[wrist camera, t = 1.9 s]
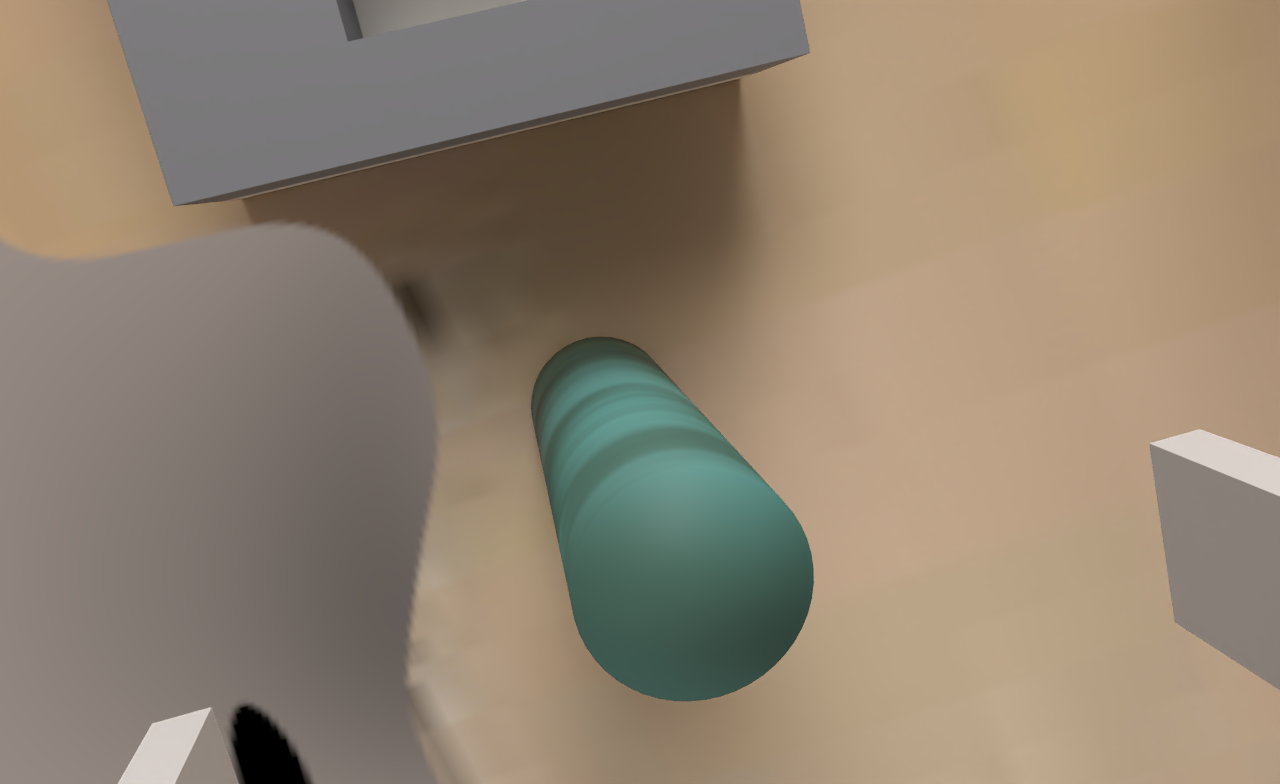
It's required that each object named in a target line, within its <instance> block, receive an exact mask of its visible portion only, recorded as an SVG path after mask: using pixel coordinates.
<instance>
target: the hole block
mask: <svg viewBox="0 0 1280 784" xmlns="http://www.w3.org/2000/svg"><path fill="white" fill-rule="evenodd" d="M107 2H108V5H109V8H110V11H111V14H112V17H113V20H114V23H115V26H116V30H117V33H118V36H119V39H120V42H121V45H122V48H123V51H124V54H125V58H126V61H127V64H128V67H129V70H130V73H131V76H132V79H133V82H134V85H135V89H136V92H137V95H138V98H139V101H140V104H141V107H142V110H143V113H144V116H145V120H146V123H147V126H148V129H149V132H150V135H151V138H152V141H153V144H154V147H155V151H156V154H157V157H158V160H159V163H160V166H161V169H162V172H163V175H164V178H165V182H166V185H167V188H168V191H169V194H170V197H171V200H172V203H173V206H179V205H189V204H199V203H208V202H218V201H228V200H237V199H244V198H248V197H252V196H256V195H260V194H264V193H269V192H273V191H277V190H281V189H285V188H289V187H293V186H298V185H302V184H306V183H310V182H314V181H318V180H322V179H327V178H331V177H335V176H339V175H343V174H347V173H351V172H356V171H360V170H364V169H368V168H372V167H376V166H380V165H385V164H389V163H393V162H397V161H401V160H405V159H409V158H414V157H418V156H422V155H426V154H430V153H434V152H438V151H443V150H447V149H451V148H455V147H459V146H463V145H467V144H472V143H476V142H480V141H484V140H488V139H492V138H496V137H501V136H505V135H509V134H513V133H517V132H521V131H525V130H530V129H534V128H538V127H542V126H546V125H550V124H554V123H559V122H563V121H567V120H571V119H575V118H579V117H583V116H588V115H592V114H596V113H600V112H604V111H608V110H612V109H616V108H621V107H625V106H629V105H633V104H637V103H641V102H645V101H650V100H654V99H658V98H662V97H666V96H670V95H674V94H679V93H683V92H687V91H691V90H695V89H699V88H703V87H708V86H712V85H716V84H720V83H724V82H728V81H732V80H737V79H741V78H743V77H746V76H749V75H751V74H754V73H757V72H760V71H762V70H765V69H768V68H770V67H773V66H776V65H779V64H781V63H784V62H787V61H789V60H792V59H795V58H797V57H800V56H803V55H806V54H808V53H810V50H809V45H808V40H807V35H806V30H805V25H804V20H803V15H802V10H801V5H800V0H107Z"/></svg>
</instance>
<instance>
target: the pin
mask: <svg viewBox="0 0 1280 784" xmlns="http://www.w3.org/2000/svg"><path fill="white" fill-rule="evenodd" d="M531 410H532V418H533V423H534V428H535V433H536V438H537V443H538V447H539V452H540V457H541V462H542V466H543V471H544V476H545V481H546V485H547V490H548V495H549V500H550V505H551V509H552V514H553V519H554V524H555V528H556V533H557V538H558V543H559V547H560V552H561V557H562V562H563V567H564V571H565V576H566V581H567V586H568V590H569V595H570V600H571V605H572V610H573V614H574V619H575V622H576V625H577V628H578V631H579V634H580V636H581V638H582V640H583V642H584V644H585V645H586V647H587V649H588V650H589V652H590V653H591V655H592V656H593V657H594V659H595V660H596V661H597V662H598V663H599V664H600V665H601V667H602V668H603V669H604V670H605V671H606V672H608V673H609V674H610V675H611V676H613V677H614V678H615V679H616V680H618V681H619V682H621V683H623V684H624V685H626V686H627V687H629V688H631V689H633V690H636V691H638V692H640V693H642V694H645V695H649V696H652V697H655V698H659V699H665V700H672V701H697V700H706V699H711V698H715V697H720V696H723V695H726V694H729V693H731V692H734V691H737V690H739V689H741V688H743V687H745V686H747V685H749V684H750V683H752V682H753V681H755V680H757V679H758V678H760V677H761V676H763V675H764V674H765V673H766V672H767V671H769V670H770V669H771V668H772V667H773V666H775V665H776V663H777V662H778V661H779V660H780V659H781V658H782V657H783V656H784V655H785V654H786V652H787V651H788V650H789V648H790V647H791V646H792V644H793V643H794V641H795V640H796V638H797V636H798V634H799V632H800V631H801V629H802V627H803V624H804V622H805V619H806V617H807V614H808V611H809V607H810V603H811V599H812V592H813V584H814V580H813V562H812V555H811V551H810V548H809V544H808V541H807V538H806V536H805V533H804V531H803V529H802V527H801V525H800V523H799V521H798V520H797V518H796V517H795V515H794V514H793V512H792V511H791V510H790V509H789V507H788V506H787V505H786V504H785V503H784V501H783V500H782V499H781V498H780V497H779V496H778V495H777V494H776V493H775V492H774V491H773V489H772V488H771V487H770V486H769V485H768V484H767V483H766V482H765V481H764V480H763V479H762V478H761V476H760V475H759V474H758V473H757V472H756V471H755V470H754V469H753V468H752V467H751V466H750V465H749V463H748V462H747V461H746V460H745V459H744V458H743V457H742V456H741V455H740V454H739V453H738V452H737V450H736V449H735V448H734V447H733V446H732V445H731V444H730V443H729V442H728V441H727V440H726V439H725V437H724V436H723V435H722V434H721V433H720V432H719V431H718V430H717V429H716V428H715V427H714V426H713V424H712V423H711V422H710V421H709V420H708V419H707V418H706V417H705V416H704V415H703V414H702V413H701V411H700V410H699V409H698V408H697V407H696V406H695V405H694V404H693V403H692V402H691V401H690V400H689V398H688V397H687V396H686V395H685V394H684V393H683V392H682V391H681V390H680V389H679V388H678V387H677V385H676V384H675V383H674V382H673V381H672V380H671V379H670V378H669V377H668V376H667V375H666V374H665V372H664V371H663V370H662V369H661V368H660V367H659V366H658V365H657V364H656V363H655V362H654V361H653V359H652V358H651V357H650V356H648V355H647V354H646V353H645V352H644V351H643V350H641V349H640V348H638V347H637V346H635V345H633V344H631V343H629V342H626V341H624V340H621V339H616V338H611V337H592V338H587V339H582V340H579V341H576V342H574V343H572V344H570V345H568V346H566V347H564V348H563V349H561V350H560V351H558V352H557V353H556V354H555V355H554V356H553V357H552V358H551V359H550V360H549V361H548V362H547V363H546V365H545V366H544V367H543V369H542V370H541V372H540V374H539V376H538V378H537V380H536V383H535V386H534V389H533V394H532V402H531Z"/></svg>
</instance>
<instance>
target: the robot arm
mask: <svg viewBox="0 0 1280 784" xmlns="http://www.w3.org/2000/svg"><path fill="white" fill-rule="evenodd" d="M1149 444H1150V451H1151V458H1152V465H1153V472H1154V479H1155V486H1156V493H1157V500H1158V507H1159V514H1160V521H1161V528H1162V535H1163V542H1164V549H1165V557H1166V564H1167V571H1168V578H1169V585H1170V592H1171V599H1172V606H1173V613H1174V620H1175V623H1177V624H1179V625H1180V626H1182V627H1183V628H1185V629H1186V630H1188V631H1189V632H1191V633H1192V634H1194V635H1196V636H1197V637H1199V638H1200V639H1202V640H1203V641H1205V642H1206V643H1208V644H1210V645H1211V646H1213V647H1214V648H1216V649H1217V650H1219V651H1220V652H1222V653H1223V654H1225V655H1227V656H1228V657H1230V658H1231V659H1233V660H1234V661H1236V662H1237V663H1239V664H1241V665H1242V666H1244V667H1245V668H1247V669H1248V670H1250V671H1251V672H1253V673H1254V674H1256V675H1258V676H1259V677H1261V678H1262V679H1264V680H1265V681H1267V682H1268V683H1270V684H1272V685H1273V686H1275V687H1276V688H1278V689H1279V690H1280V458H1279V457H1276V456H1273V455H1270V454H1267V453H1265V452H1262V451H1259V450H1256V449H1254V448H1251V447H1248V446H1245V445H1242V444H1240V443H1237V442H1234V441H1231V440H1228V439H1226V438H1223V437H1220V436H1217V435H1215V434H1212V433H1209V432H1206V431H1203V430H1201V429H1199V430H1195V431H1192V432H1188V433H1184V434H1181V435H1177V436H1174V437H1170V438H1167V439H1163V440H1160V441H1156V442H1152V443H1149ZM118 784H239V783H238V781H237V778H236V775H235V772H234V769H233V766H232V763H231V761H230V758H229V755H228V752H227V749H226V746H225V744H224V741H223V738H222V735H221V732H220V729H219V727H218V724H217V721H216V718H215V715H214V712H213V710H212V707H210V708H206V709H203V710H200V711H196V712H192V713H189V714H185V715H181V716H178V717H175V718H171V719H167V720H164V721H160V722H157V723H153V724H152V725H151V727H150V729H149V731H148V732H147V734H146V736H145V737H144V739H143V741H142V742H141V744H140V746H139V748H138V750H137V751H136V753H135V755H134V757H133V758H132V760H131V762H130V763H129V765H128V767H127V769H126V770H125V772H124V774H123V776H122V777H121V779H120V781H119V783H118Z"/></svg>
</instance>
